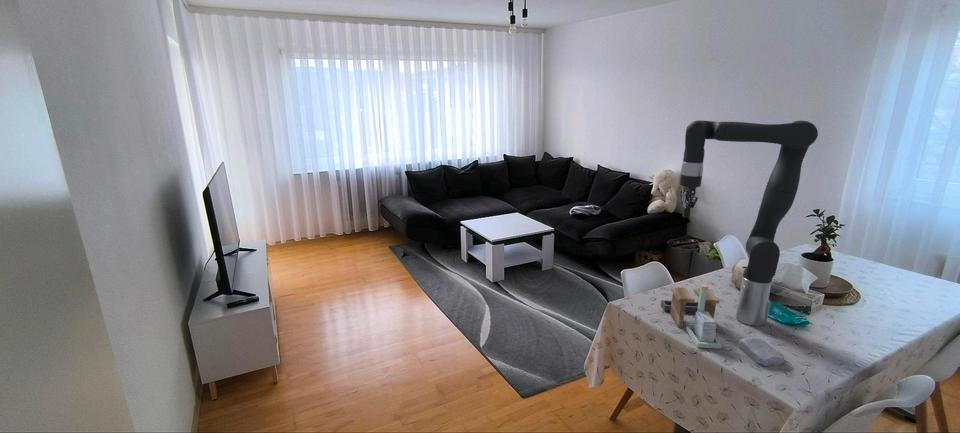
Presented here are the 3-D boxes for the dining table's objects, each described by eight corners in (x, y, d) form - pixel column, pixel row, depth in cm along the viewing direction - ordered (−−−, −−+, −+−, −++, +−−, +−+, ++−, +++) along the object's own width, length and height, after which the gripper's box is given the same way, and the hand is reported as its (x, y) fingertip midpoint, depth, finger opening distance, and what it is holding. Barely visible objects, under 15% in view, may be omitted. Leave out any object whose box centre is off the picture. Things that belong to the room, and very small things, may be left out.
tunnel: (704, 316, 170) (708, 288, 167) (714, 329, 160) (719, 300, 157) (667, 314, 171) (670, 287, 168) (675, 327, 162) (679, 298, 159)
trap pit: (699, 307, 177) (699, 302, 176) (703, 313, 172) (704, 307, 171) (660, 305, 178) (661, 300, 178) (664, 311, 174) (664, 305, 173)
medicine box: (713, 345, 150) (717, 322, 148) (700, 344, 150) (703, 321, 148) (705, 333, 158) (708, 311, 155) (692, 332, 158) (695, 310, 156)
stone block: (759, 350, 151) (734, 346, 149) (765, 338, 149) (739, 334, 148) (786, 371, 139) (758, 368, 138) (792, 359, 138) (764, 355, 137)
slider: (707, 330, 159) (714, 284, 154) (721, 348, 147) (729, 300, 143) (685, 328, 160) (691, 283, 155) (697, 347, 148) (704, 298, 143)
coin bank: (747, 276, 207) (753, 251, 202) (773, 296, 191) (780, 269, 186) (716, 279, 206) (721, 253, 201) (740, 298, 190) (746, 271, 185)
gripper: (708, 176, 160) (702, 222, 165) (695, 171, 173) (690, 213, 177) (687, 176, 161) (681, 221, 165) (675, 170, 174) (670, 212, 178)
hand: (685, 217), depth 171 cm, fingers closed
